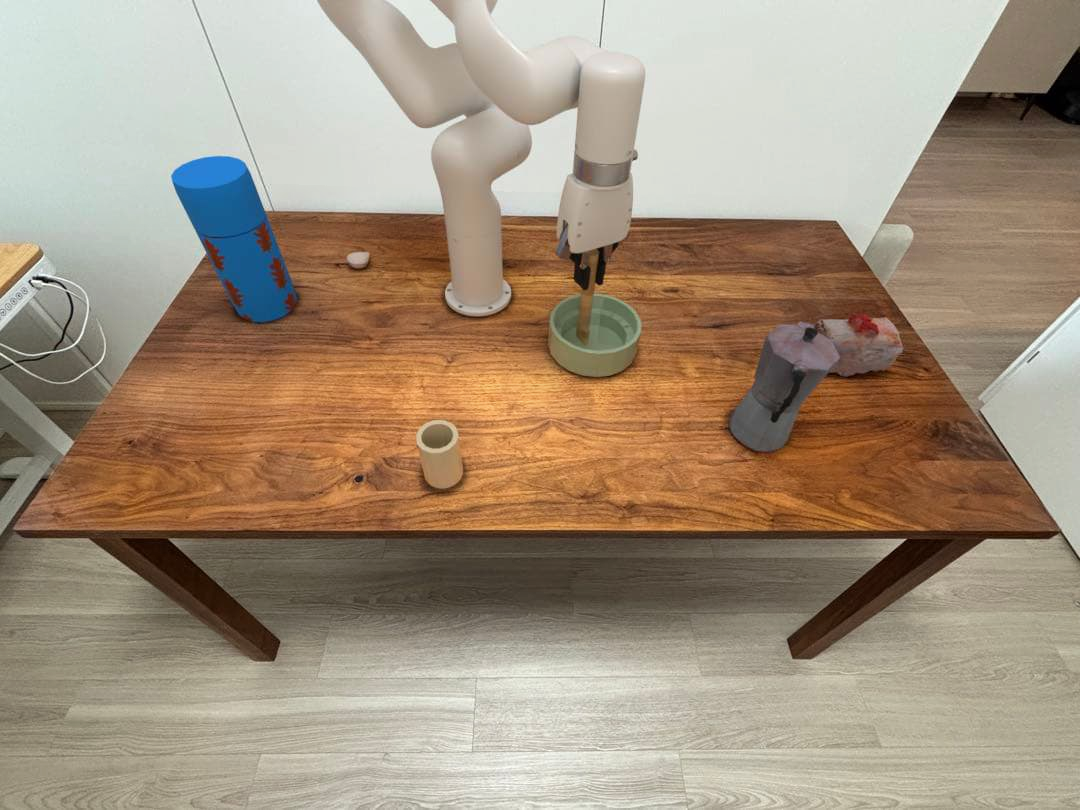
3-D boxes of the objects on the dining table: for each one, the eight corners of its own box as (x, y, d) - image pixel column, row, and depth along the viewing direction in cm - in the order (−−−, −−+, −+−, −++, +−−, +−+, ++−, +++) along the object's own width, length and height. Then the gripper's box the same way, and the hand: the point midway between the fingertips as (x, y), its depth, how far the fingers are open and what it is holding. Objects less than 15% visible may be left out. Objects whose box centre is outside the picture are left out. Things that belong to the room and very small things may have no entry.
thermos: (223, 313, 97) (152, 179, 78) (263, 280, 104) (208, 150, 85) (271, 329, 95) (211, 195, 76) (310, 295, 102) (263, 164, 83)
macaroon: (344, 266, 108) (341, 255, 106) (362, 254, 111) (359, 244, 109) (360, 273, 106) (357, 262, 105) (377, 261, 109) (375, 250, 107)
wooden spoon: (572, 337, 93) (581, 248, 80) (582, 333, 94) (592, 245, 81) (581, 346, 92) (591, 258, 78) (591, 343, 92) (603, 254, 79)
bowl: (533, 334, 96) (533, 308, 92) (604, 310, 102) (608, 284, 97) (576, 390, 88) (580, 364, 83) (652, 361, 93) (659, 335, 88)
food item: (864, 346, 97) (893, 303, 90) (887, 378, 92) (920, 335, 85) (793, 350, 96) (816, 306, 88) (812, 382, 91) (839, 339, 83)
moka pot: (791, 406, 87) (849, 309, 72) (787, 481, 77) (854, 387, 62) (732, 390, 89) (776, 292, 74) (721, 462, 79) (770, 367, 64)
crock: (419, 467, 77) (409, 428, 70) (454, 453, 79) (449, 414, 72) (432, 496, 74) (424, 459, 67) (469, 481, 76) (465, 443, 69)
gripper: (634, 143, 75) (616, 257, 89) (534, 166, 69) (532, 283, 83) (668, 166, 70) (643, 282, 84) (564, 192, 65) (556, 311, 79)
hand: (588, 282), depth 84 cm, fingers closed on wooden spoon, 2 cm apart
